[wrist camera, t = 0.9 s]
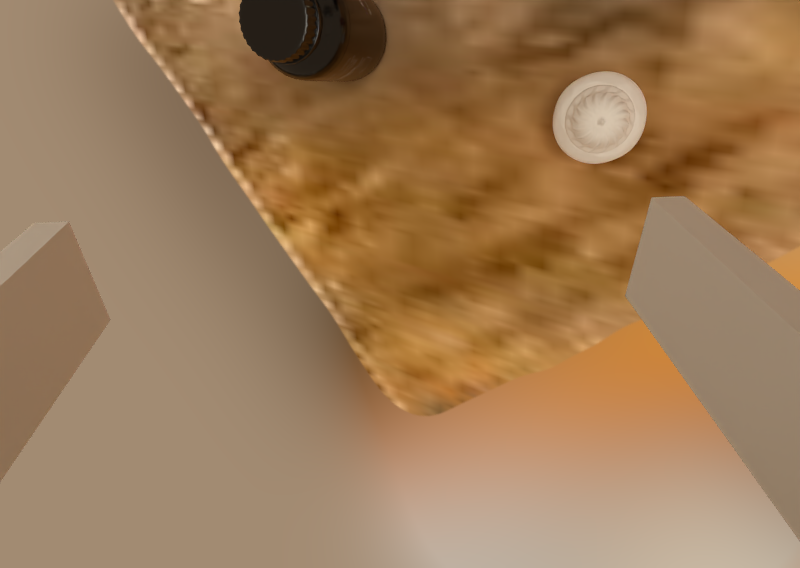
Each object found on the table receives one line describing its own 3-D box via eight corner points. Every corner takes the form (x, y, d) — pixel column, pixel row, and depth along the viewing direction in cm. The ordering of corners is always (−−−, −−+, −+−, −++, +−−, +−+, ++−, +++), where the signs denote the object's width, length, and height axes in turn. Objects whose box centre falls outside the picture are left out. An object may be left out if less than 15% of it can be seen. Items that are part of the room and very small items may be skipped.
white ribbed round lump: (535, 122, 40) (531, 129, 34) (594, 53, 38) (601, 47, 31) (596, 174, 40) (602, 190, 34) (659, 108, 38) (679, 113, 31)
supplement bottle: (388, -13, 40) (324, -49, 29) (387, 82, 42) (328, 82, 32) (306, -11, 42) (218, -44, 31) (310, 80, 44) (229, 79, 33)
